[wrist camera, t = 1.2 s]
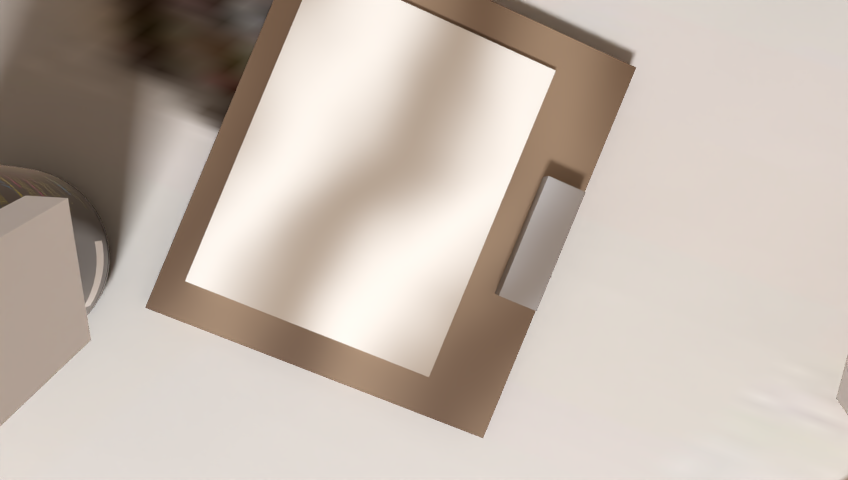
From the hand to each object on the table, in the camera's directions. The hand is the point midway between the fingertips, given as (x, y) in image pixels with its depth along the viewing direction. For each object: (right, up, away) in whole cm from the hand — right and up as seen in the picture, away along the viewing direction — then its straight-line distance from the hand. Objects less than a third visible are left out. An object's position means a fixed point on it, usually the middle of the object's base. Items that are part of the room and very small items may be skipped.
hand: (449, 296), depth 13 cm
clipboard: (-2, +3, +18) cm, 18 cm away
